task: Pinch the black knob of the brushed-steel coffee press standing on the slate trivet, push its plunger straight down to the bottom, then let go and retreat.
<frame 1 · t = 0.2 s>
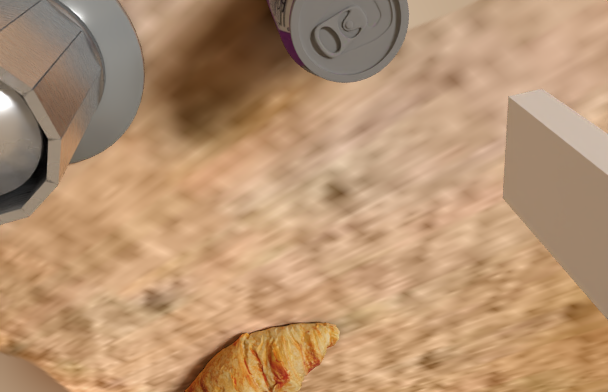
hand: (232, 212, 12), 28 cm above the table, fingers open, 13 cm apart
faceted metal cup: (23, 65, 35), resting on trivet
croissant: (254, 359, 57), on the table
trivet: (27, 61, 36), on the table
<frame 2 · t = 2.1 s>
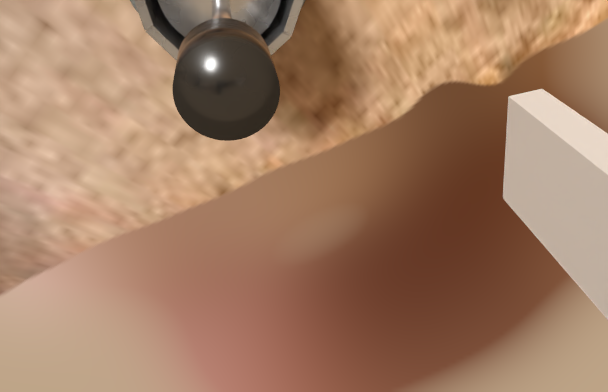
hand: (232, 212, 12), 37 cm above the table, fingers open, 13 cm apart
plunger: (222, 21, 25), point 20 cm above the table, slide at 0.0 cm
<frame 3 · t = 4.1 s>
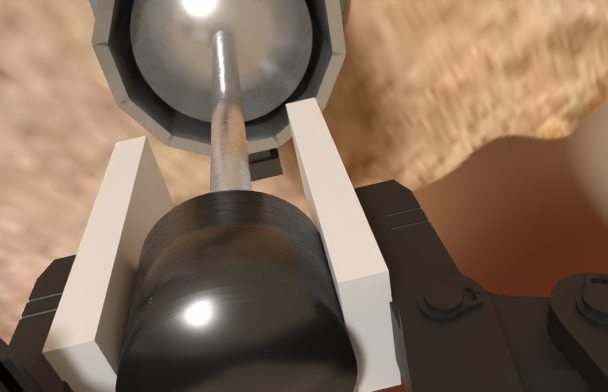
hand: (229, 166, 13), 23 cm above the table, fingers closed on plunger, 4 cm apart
plunger: (227, 123, 15), point 20 cm above the table, slide at 0.0 cm, touching gripper
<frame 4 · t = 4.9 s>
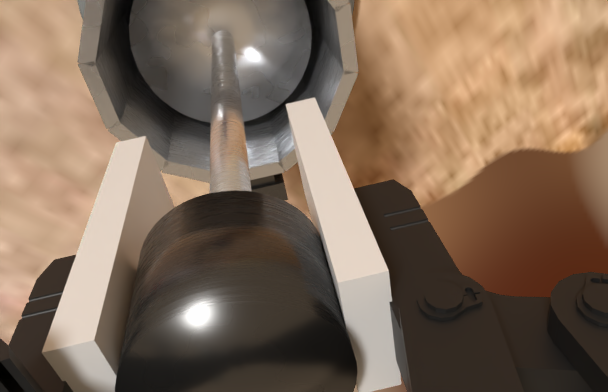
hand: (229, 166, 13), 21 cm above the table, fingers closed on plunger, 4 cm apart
plunger: (227, 124, 15), point 18 cm above the table, slide at -2.5 cm, touching gripper
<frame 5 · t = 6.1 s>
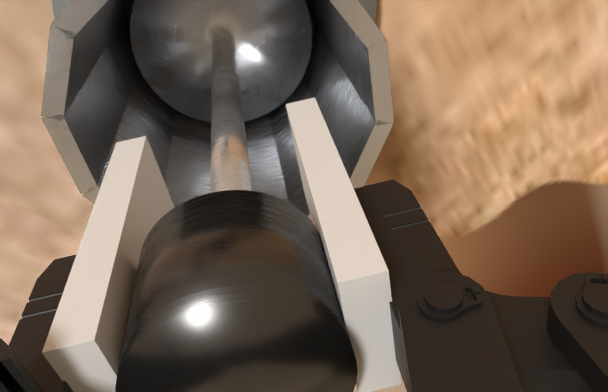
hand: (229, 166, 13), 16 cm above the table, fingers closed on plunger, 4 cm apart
faceted metal cup: (222, 20, 26), resting on trivet
trivet: (222, 16, 26), on the table
plunger: (227, 123, 15), point 13 cm above the table, slide at -7.3 cm, touching gripper
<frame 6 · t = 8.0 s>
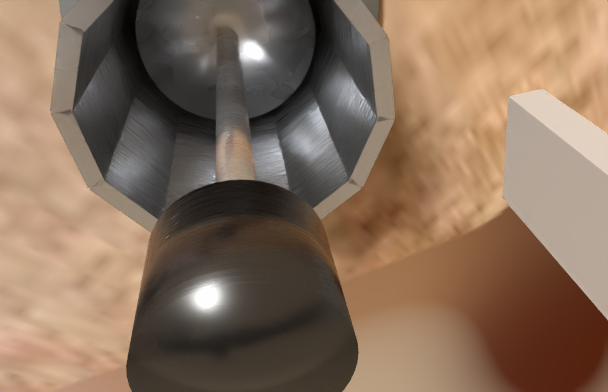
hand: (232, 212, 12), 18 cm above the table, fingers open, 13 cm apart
faceted metal cup: (226, 19, 26), resting on trivet
trivet: (226, 15, 27), on the table
plunger: (232, 119, 16), point 13 cm above the table, slide at -7.3 cm
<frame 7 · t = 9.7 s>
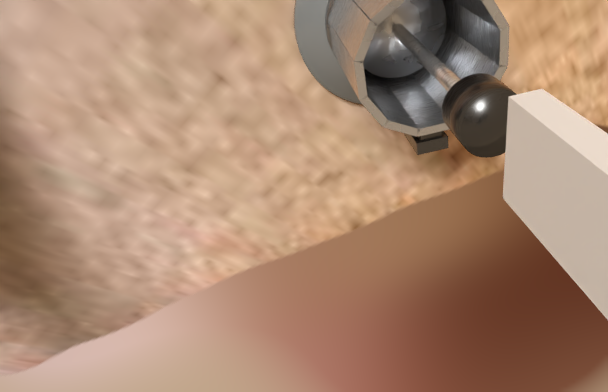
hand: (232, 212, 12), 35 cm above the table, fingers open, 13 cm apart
faceted metal cup: (386, 18, 44), resting on trivet
trivet: (384, 16, 44), on the table
plunger: (433, 65, 34), point 13 cm above the table, slide at -7.3 cm
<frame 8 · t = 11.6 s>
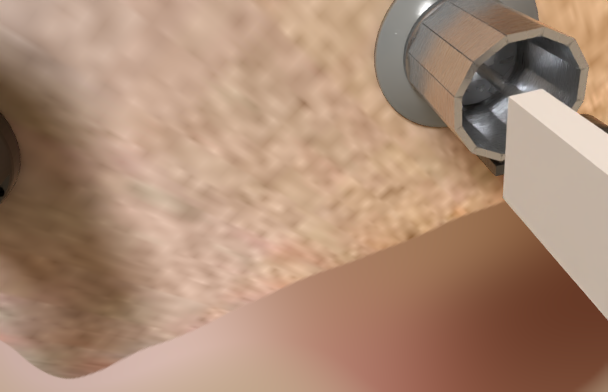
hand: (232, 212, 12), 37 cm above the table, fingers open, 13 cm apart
faceted metal cup: (457, 50, 48), resting on trivet
trivet: (454, 48, 49), on the table
plunger: (522, 100, 38), point 13 cm above the table, slide at -7.3 cm
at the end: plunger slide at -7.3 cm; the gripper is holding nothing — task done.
